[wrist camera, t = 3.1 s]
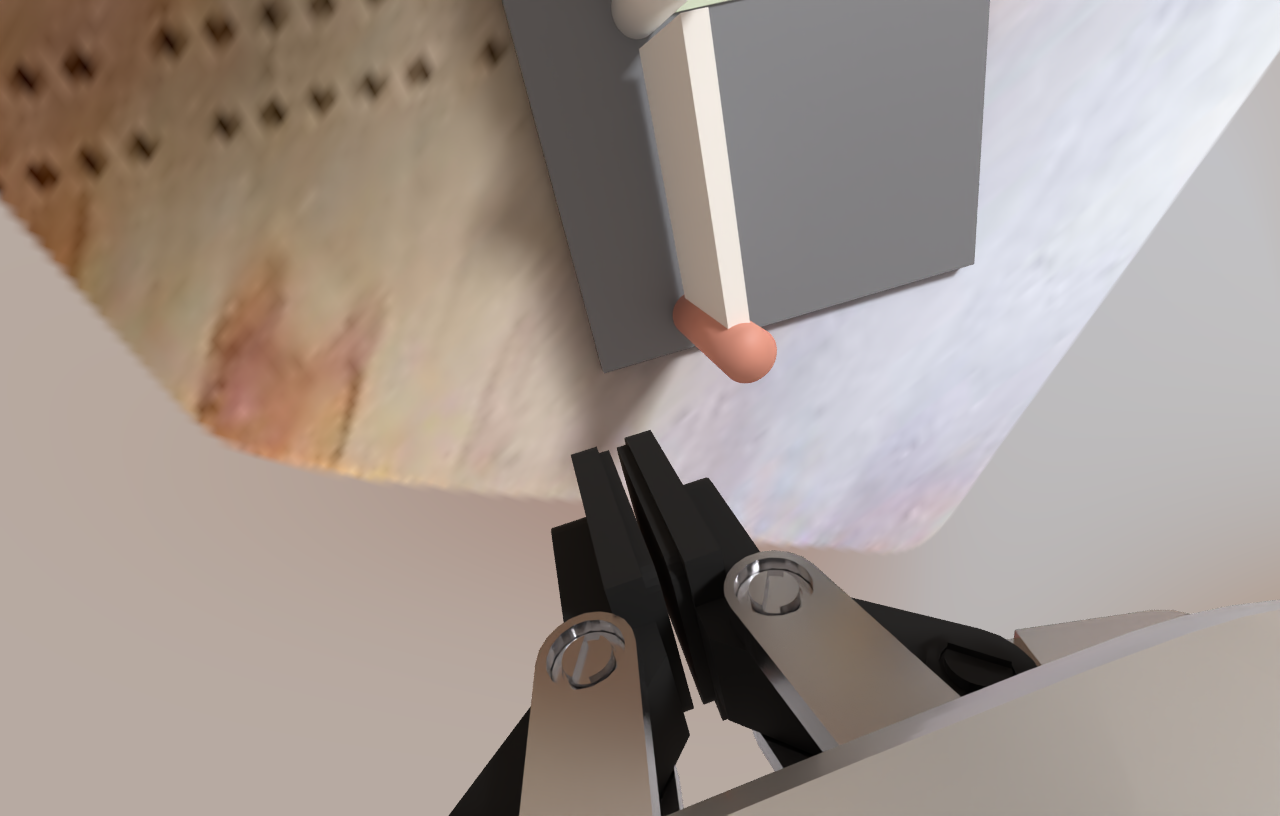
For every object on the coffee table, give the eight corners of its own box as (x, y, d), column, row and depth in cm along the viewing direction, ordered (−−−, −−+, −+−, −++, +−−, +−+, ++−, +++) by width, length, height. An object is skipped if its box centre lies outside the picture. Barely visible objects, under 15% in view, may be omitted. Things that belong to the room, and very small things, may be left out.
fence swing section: (620, 55, 19) (665, 11, 14) (673, 42, 20) (737, -4, 14) (677, 340, 24) (726, 389, 19) (719, 328, 24) (779, 373, 19)
